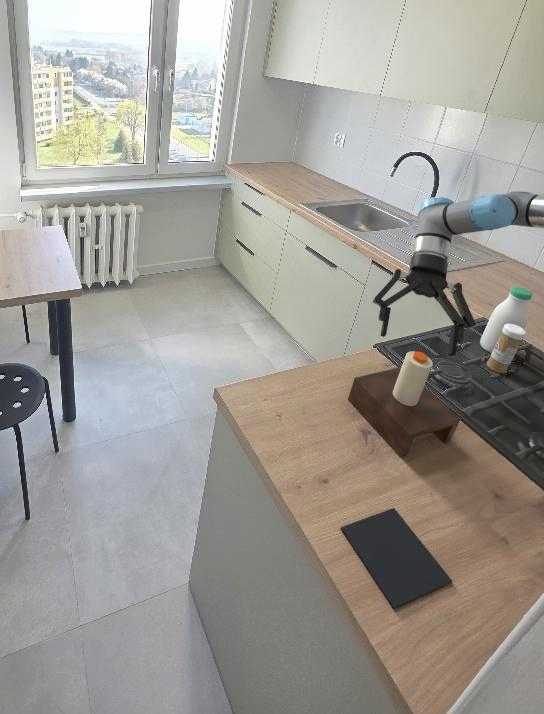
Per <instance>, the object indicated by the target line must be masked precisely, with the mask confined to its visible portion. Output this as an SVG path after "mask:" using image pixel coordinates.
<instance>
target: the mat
mask: <svg viewBox="0 0 544 714" xmlns="http://www.w3.org/2000/svg"><path fill="white" fill-rule="evenodd" d="M340 530H341V532H342V533H343V535H344V536H345V538H346V540H347V541H348V543H349V544H350V545H351V547H352V549H353V550H354V552H355V553H356V555H357V556H358V558H359V559H360V561H361V562H362V564H363V565H364V567H365V569H366V570H367V572H368V573H369V574H370V576H371V577H372V579H373V580H374V582H375V584H376V585H377V586H378V588H379V589H380V591H381V593H382V594H383V596H384V598H385V599H386V601H387V602H388V603H389V605H390V606H391V608H392V610H397V609H398V608H401V607H403V606H405V605H407V604H409V603H411V602H413V601H415V600H418V599H420V598H422V597H424V596H427V595H429V594H431V593H433V592H436V591H437V590H439V589H442V588H444V587H446V586H449V585H450V584H452V583H453V580H452V579H451V577H450V576H449V574H447V572H446V571H445V570H444V568H443V567H442V566H441V565H440V563H439V562H438V561H437V559H436V558H435V557H434V556H433V555H432V553H431V552H430V551H429V550H428V548H427V547H426V546H425V545H424V543H423V542H422V541H421V539H419V537H418V536H417V535H416V533H415V532H414V531H413V530H412V529H411V527H410V526H409V524H407V522H406V521H405V519H403V517H402V516H401V514H400V513H399V512H398V511H397V510H396V509H395V507H392V508H389V509H387V510H384V511H381V512H379V513H377V514H373V515H370V516H368V517H365V518H363V519H360V520H357V521H354V522H351V523H349V524H346V525H344V526H340Z"/></svg>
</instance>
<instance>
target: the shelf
mask: <svg viewBox="0 0 544 714" xmlns="http://www.w3.org/2000/svg"><path fill="white" fill-rule="evenodd" d="M401 368H402V366H398V367H393V368H389V369H385V370H382V371H377V372H373V373H369V374H365V375H361V376H356V377H354V378H353V380H352V381H353V382H352V385H351V388H350V391H349V395H348V397H347V400H348V402H349V403H350V404H351V405H352V406H353V407H354V409H356V410H357V412H358V413H359V414H360V415H361V416H362V417H363V418H364V419H365V420H366V422H367V423H368V424H369V425H370V426H371V427H372V428H373V429H374V430H375V431H376V432H377V434H378V435H379V436H380V437H381V438H382V439H383V440H384V442H386V443H387V445H388V446H389V447H390V448H391V449H392V450H393V451H394V452H395V453H396V454H397V455H398V457H399V458H405V457H407V455H408V453H409V451H410V448H411V446H412V443H413V441H414V439H415V438H417V437H420V436H423V435H427V434H429V433H433V434H434V435H435V436H436V437H437V438H438V439H439V440H440V441H441V442H443V444H447V443H450V442H451V440H453V439H452V438H453V437H454V435H455V432H456V430H457V428H458V425H459V423H460V421H461V418H460V417H459V416H458V415H457V414H456V413H454V411H452V410H451V409H450V408H449V407H448V406H447V405H445V404H444V403H443V402H442V401H441V400H440V399H439V398H438V397H436V396H435V395H434V394H432V392H430V391H429V390H428V389H427V388H426V387H424V388H423V390H422V393H421V395H420V398H419V400H418V403H417V404H416V405H415V406H407V405H404V404H402V403H400V402H399V401H397V400H396V399H395V397H394V396H393V390H394V387H395V384H396V381H397V379H398V376H399V373H400V370H401Z"/></svg>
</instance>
